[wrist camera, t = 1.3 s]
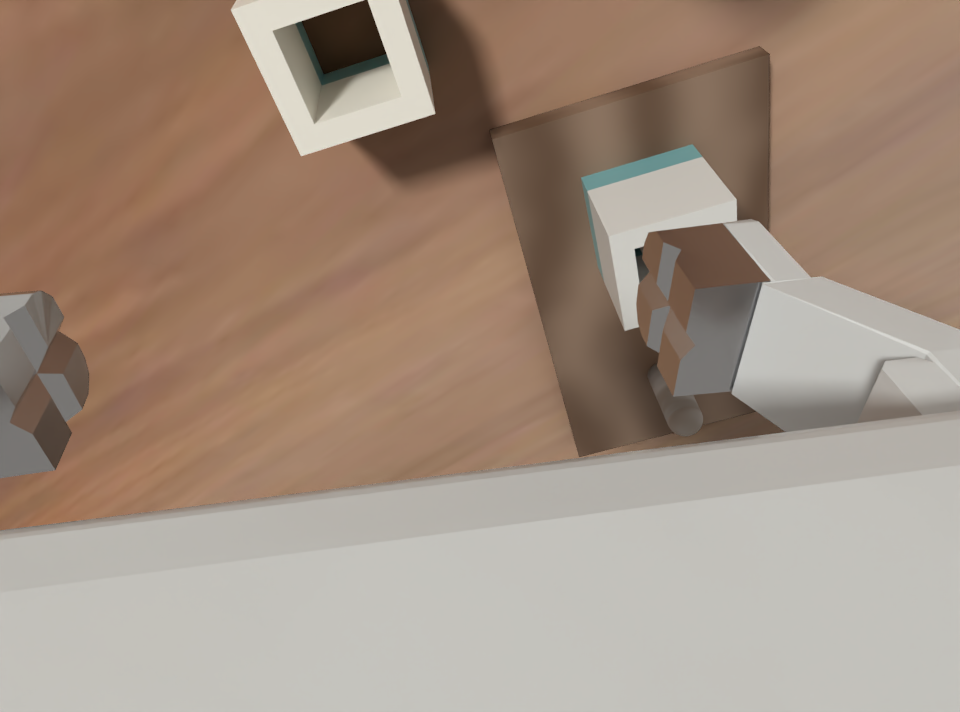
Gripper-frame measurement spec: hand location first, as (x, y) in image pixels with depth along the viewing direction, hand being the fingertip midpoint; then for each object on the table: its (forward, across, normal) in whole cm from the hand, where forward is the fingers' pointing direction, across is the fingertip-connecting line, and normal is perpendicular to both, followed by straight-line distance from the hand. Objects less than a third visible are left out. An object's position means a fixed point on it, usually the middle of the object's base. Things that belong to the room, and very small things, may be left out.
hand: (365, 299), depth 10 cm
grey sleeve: (+25, -14, +13) cm, 31 cm away
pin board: (+26, -15, +19) cm, 36 cm away
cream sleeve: (+26, +1, +3) cm, 27 cm away
